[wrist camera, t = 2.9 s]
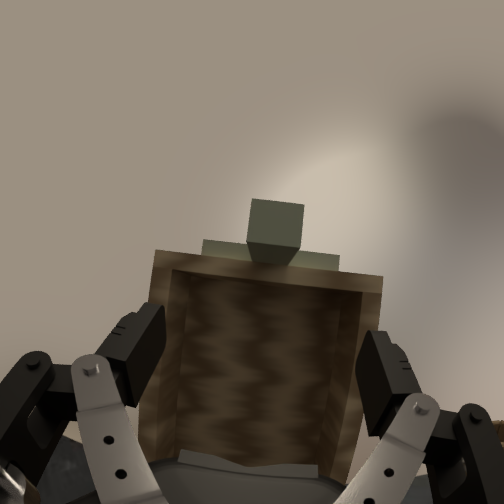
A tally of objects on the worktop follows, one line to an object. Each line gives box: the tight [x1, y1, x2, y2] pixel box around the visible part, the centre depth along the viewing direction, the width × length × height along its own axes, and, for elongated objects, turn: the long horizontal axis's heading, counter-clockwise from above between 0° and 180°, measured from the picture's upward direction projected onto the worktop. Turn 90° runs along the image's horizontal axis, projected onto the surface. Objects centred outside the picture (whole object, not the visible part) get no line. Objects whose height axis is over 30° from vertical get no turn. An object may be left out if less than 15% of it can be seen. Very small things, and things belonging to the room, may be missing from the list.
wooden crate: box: [138, 250, 383, 485], centre depth 28 cm, size 20×9×32 cm, turn 88°
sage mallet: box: [201, 199, 340, 271], centre depth 26 cm, size 12×17×2 cm
